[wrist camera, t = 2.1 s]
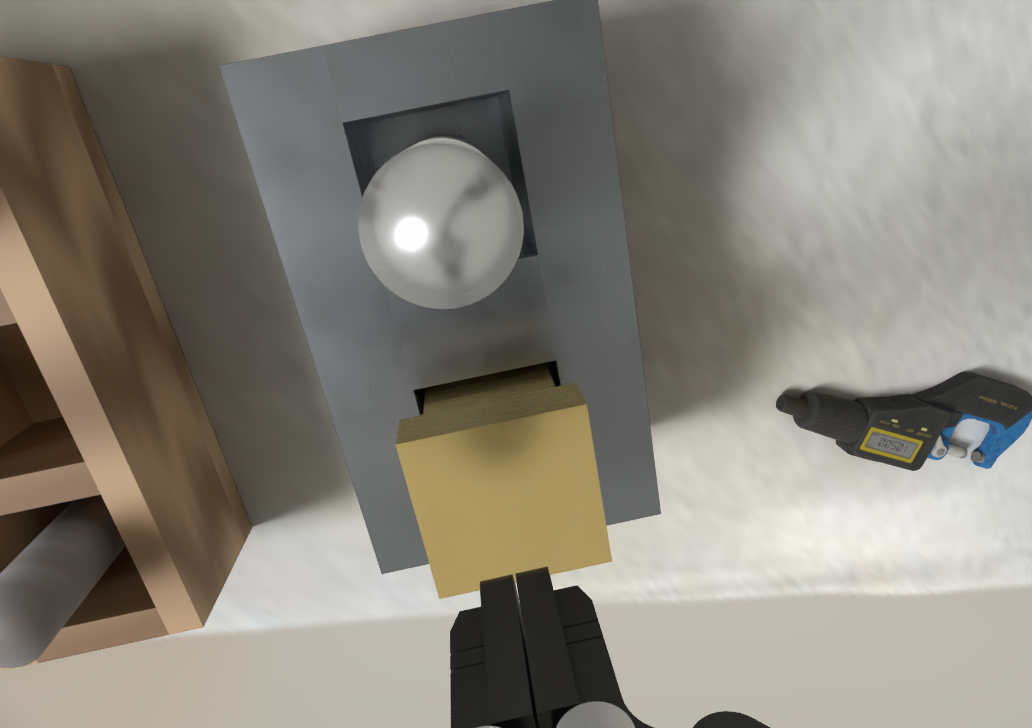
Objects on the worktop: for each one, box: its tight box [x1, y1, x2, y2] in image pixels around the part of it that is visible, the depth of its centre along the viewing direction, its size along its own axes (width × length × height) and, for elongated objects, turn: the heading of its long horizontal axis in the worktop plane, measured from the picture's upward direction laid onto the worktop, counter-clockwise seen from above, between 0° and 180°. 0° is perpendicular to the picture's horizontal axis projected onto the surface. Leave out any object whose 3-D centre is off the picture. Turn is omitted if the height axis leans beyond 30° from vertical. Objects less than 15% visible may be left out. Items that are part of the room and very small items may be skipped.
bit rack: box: [0, 56, 252, 670], centre depth 21 cm, size 19×7×9 cm, turn 11°
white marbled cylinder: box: [358, 133, 524, 309], centre depth 17 cm, size 3×3×12 cm
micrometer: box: [776, 372, 1032, 471], centre depth 29 cm, size 12×2×5 cm
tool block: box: [219, 0, 661, 574], centre depth 23 cm, size 16×10×6 cm, turn 11°
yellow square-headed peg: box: [396, 363, 612, 599], centre depth 21 cm, size 5×5×6 cm
